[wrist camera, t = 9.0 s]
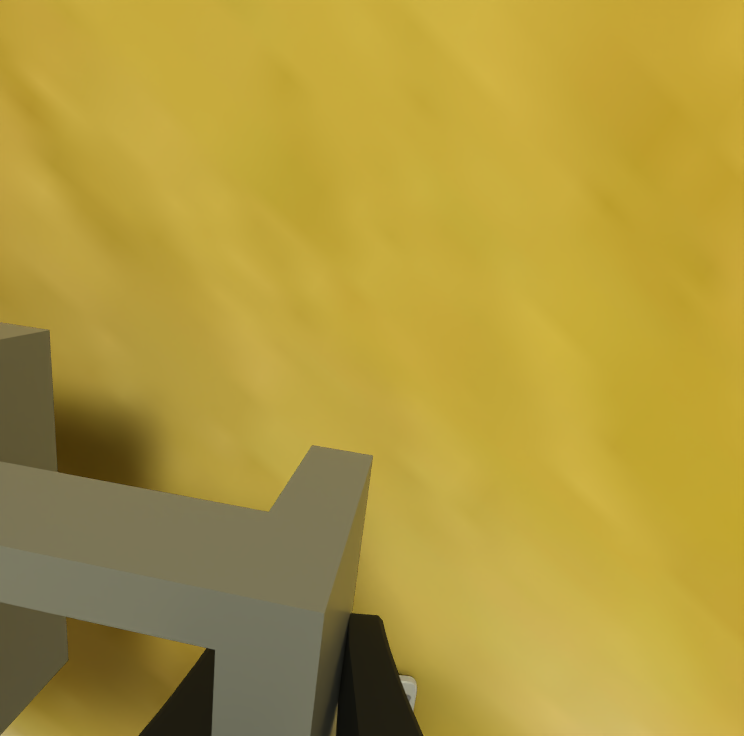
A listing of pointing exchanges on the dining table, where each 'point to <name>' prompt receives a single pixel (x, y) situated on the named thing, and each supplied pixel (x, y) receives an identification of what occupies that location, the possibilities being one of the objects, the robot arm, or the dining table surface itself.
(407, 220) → the dining table surface
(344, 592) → the grey open rectangular frame
